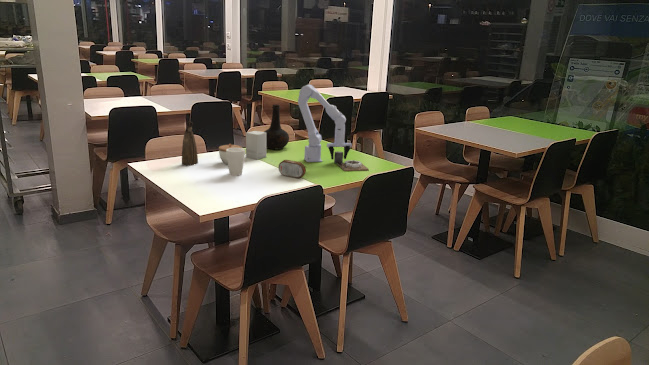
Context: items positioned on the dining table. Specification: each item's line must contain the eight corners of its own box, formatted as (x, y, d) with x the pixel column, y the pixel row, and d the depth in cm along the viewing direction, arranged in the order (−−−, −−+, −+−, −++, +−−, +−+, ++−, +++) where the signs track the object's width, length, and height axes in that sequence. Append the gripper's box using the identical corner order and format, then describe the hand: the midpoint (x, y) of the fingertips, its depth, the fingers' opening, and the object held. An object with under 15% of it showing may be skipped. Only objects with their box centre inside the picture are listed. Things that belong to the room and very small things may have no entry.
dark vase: (257, 149, 305) (257, 105, 297) (265, 144, 322) (265, 102, 314) (285, 152, 302) (285, 107, 294) (291, 146, 319) (292, 103, 311)
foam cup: (229, 177, 245) (229, 152, 241) (224, 172, 252) (223, 148, 249) (247, 175, 249) (247, 151, 245) (241, 171, 257) (241, 147, 253)
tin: (305, 178, 249) (306, 162, 246) (303, 179, 246) (303, 163, 244) (280, 173, 255) (280, 158, 252) (277, 175, 252) (277, 159, 250)
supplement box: (267, 157, 288) (267, 132, 284) (257, 159, 281) (257, 134, 277) (255, 154, 293) (255, 130, 288) (245, 157, 285) (245, 132, 281)
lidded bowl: (214, 164, 268) (214, 144, 265) (227, 159, 280) (226, 140, 276) (234, 167, 264) (233, 147, 261) (246, 162, 275) (245, 143, 272)
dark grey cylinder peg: (335, 163, 280) (335, 153, 278) (333, 161, 285) (333, 151, 283) (343, 163, 281) (344, 153, 280) (341, 161, 286) (341, 151, 284)
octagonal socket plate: (344, 171, 265) (344, 165, 264) (337, 164, 278) (337, 159, 277) (368, 170, 268) (369, 165, 268) (360, 163, 281) (360, 158, 280)
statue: (194, 166, 262) (190, 120, 255) (180, 166, 262) (176, 120, 255) (199, 162, 270) (195, 118, 263) (186, 162, 270) (182, 117, 264)
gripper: (329, 137, 273) (328, 160, 277) (353, 137, 277) (352, 160, 280) (326, 135, 279) (325, 157, 283) (350, 134, 283) (348, 157, 287)
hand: (338, 158), depth 282 cm, fingers open, 7 cm apart
